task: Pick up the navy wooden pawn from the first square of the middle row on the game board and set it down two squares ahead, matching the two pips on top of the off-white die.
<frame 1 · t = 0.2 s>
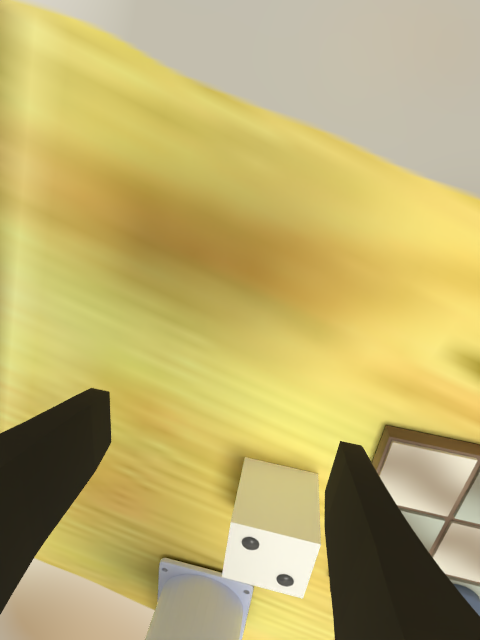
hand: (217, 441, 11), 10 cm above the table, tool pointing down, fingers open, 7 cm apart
board: (468, 538, 23), on the table
pawn: (448, 601, 24), point 1 cm above the table, touching board
die: (275, 490, 25), on the table
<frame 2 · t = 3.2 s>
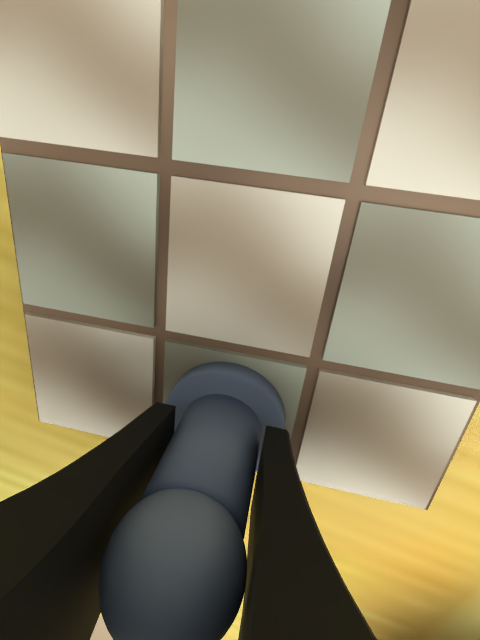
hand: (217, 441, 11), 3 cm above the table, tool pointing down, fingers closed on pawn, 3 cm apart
board: (250, 262, 11), on the table
pawn: (226, 412, 12), point 1 cm above the table, touching board, gripper
when the fingers open (4 cm above the table, at t = 6.8 s): pawn stays where it is, resting on board.
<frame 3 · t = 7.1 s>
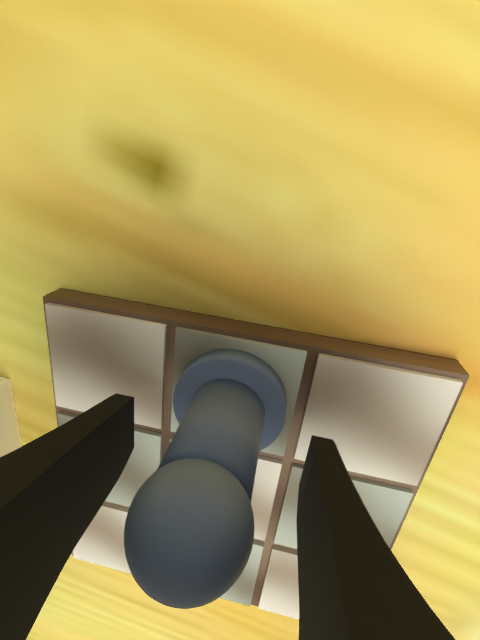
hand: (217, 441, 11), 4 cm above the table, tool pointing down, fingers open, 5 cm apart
board: (225, 470, 16), on the table
pawn: (231, 397, 13), point 1 cm above the table, touching board
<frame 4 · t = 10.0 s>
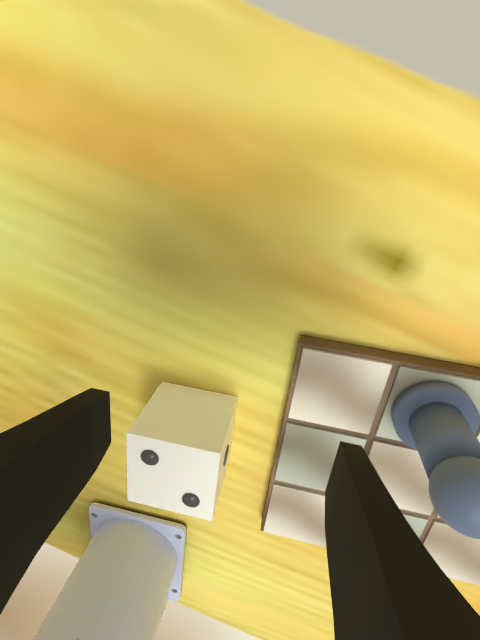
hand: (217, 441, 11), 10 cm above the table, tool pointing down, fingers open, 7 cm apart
board: (398, 464, 22), on the table
pawn: (431, 412, 19), point 1 cm above the table, touching board
die: (197, 419, 23), on the table
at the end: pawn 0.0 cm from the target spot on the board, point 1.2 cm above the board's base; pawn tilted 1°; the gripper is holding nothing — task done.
